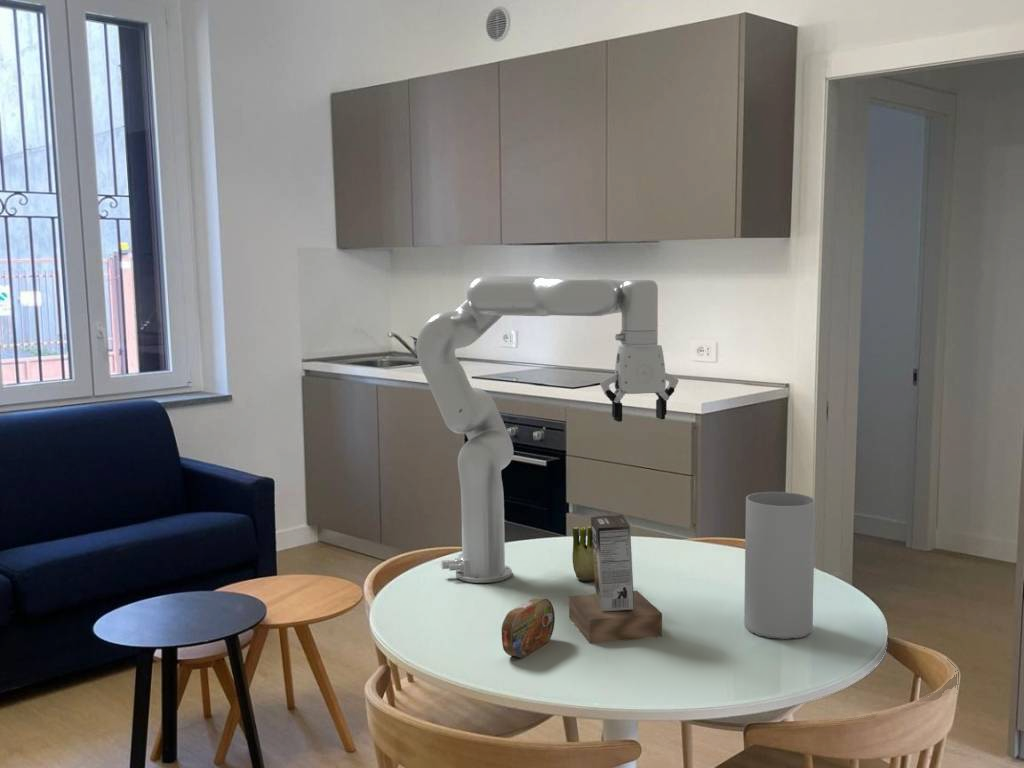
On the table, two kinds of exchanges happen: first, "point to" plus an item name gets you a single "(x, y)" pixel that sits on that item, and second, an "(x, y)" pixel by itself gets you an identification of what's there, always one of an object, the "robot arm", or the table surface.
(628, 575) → the coffee box
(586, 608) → the walnut block
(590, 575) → the fennel bulb
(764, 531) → the cylinder vase
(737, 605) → the table surface
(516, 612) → the tin
